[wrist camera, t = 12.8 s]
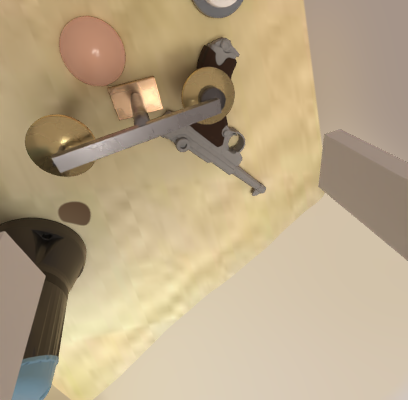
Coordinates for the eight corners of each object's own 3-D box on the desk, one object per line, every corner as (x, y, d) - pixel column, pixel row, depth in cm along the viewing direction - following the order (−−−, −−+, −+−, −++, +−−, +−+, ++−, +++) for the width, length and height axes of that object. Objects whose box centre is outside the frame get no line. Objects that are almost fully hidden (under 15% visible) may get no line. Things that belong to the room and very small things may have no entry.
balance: (66, 140, 35) (38, 204, 23) (41, 95, 32) (-7, 143, 19) (215, 99, 38) (263, 138, 25) (208, 53, 34) (260, 72, 22)
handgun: (307, 132, 46) (250, 194, 51) (213, 29, 33) (147, 123, 37) (319, 139, 44) (258, 204, 48) (222, 29, 31) (149, 131, 35)
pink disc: (78, 90, 32) (77, 92, 32) (48, 24, 28) (46, 24, 27) (133, 76, 33) (133, 78, 32) (112, 9, 29) (111, 9, 28)
